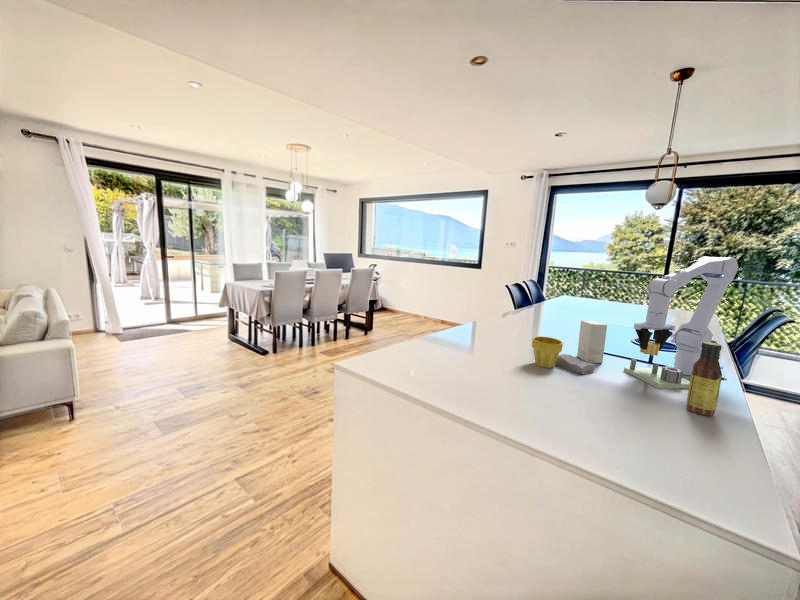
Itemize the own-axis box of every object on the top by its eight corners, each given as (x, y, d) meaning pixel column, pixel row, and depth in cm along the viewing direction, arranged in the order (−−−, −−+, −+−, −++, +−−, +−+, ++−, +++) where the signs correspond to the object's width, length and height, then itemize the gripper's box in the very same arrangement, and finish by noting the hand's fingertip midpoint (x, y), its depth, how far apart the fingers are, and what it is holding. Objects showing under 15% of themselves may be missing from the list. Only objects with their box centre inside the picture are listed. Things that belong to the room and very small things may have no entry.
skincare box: (602, 363, 132) (608, 325, 130) (585, 362, 132) (591, 324, 130) (591, 356, 141) (596, 320, 138) (575, 355, 141) (580, 319, 138)
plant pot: (540, 370, 121) (543, 344, 119) (524, 360, 131) (527, 336, 129) (565, 369, 123) (569, 344, 122) (548, 360, 133) (551, 336, 132)
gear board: (657, 371, 127) (659, 356, 126) (696, 388, 112) (699, 371, 111) (623, 371, 125) (626, 355, 124) (658, 388, 110) (662, 371, 109)
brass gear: (649, 351, 126) (651, 340, 125) (661, 355, 120) (663, 345, 120) (636, 350, 125) (638, 340, 124) (648, 355, 120) (650, 344, 119)
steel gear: (664, 376, 117) (667, 365, 117) (683, 382, 113) (685, 370, 112) (657, 378, 115) (659, 367, 114) (676, 384, 110) (678, 373, 110)
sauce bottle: (720, 418, 92) (736, 348, 88) (693, 415, 93) (708, 345, 89) (703, 407, 98) (718, 341, 95) (679, 404, 99) (692, 339, 96)
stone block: (568, 365, 133) (551, 363, 129) (571, 354, 133) (555, 351, 128) (596, 378, 123) (578, 376, 118) (600, 366, 122) (583, 363, 118)
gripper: (665, 310, 125) (658, 346, 127) (629, 309, 123) (623, 345, 125) (683, 314, 118) (676, 352, 120) (645, 313, 116) (639, 351, 118)
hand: (650, 349), depth 122 cm, fingers closed on brass gear, 5 cm apart
